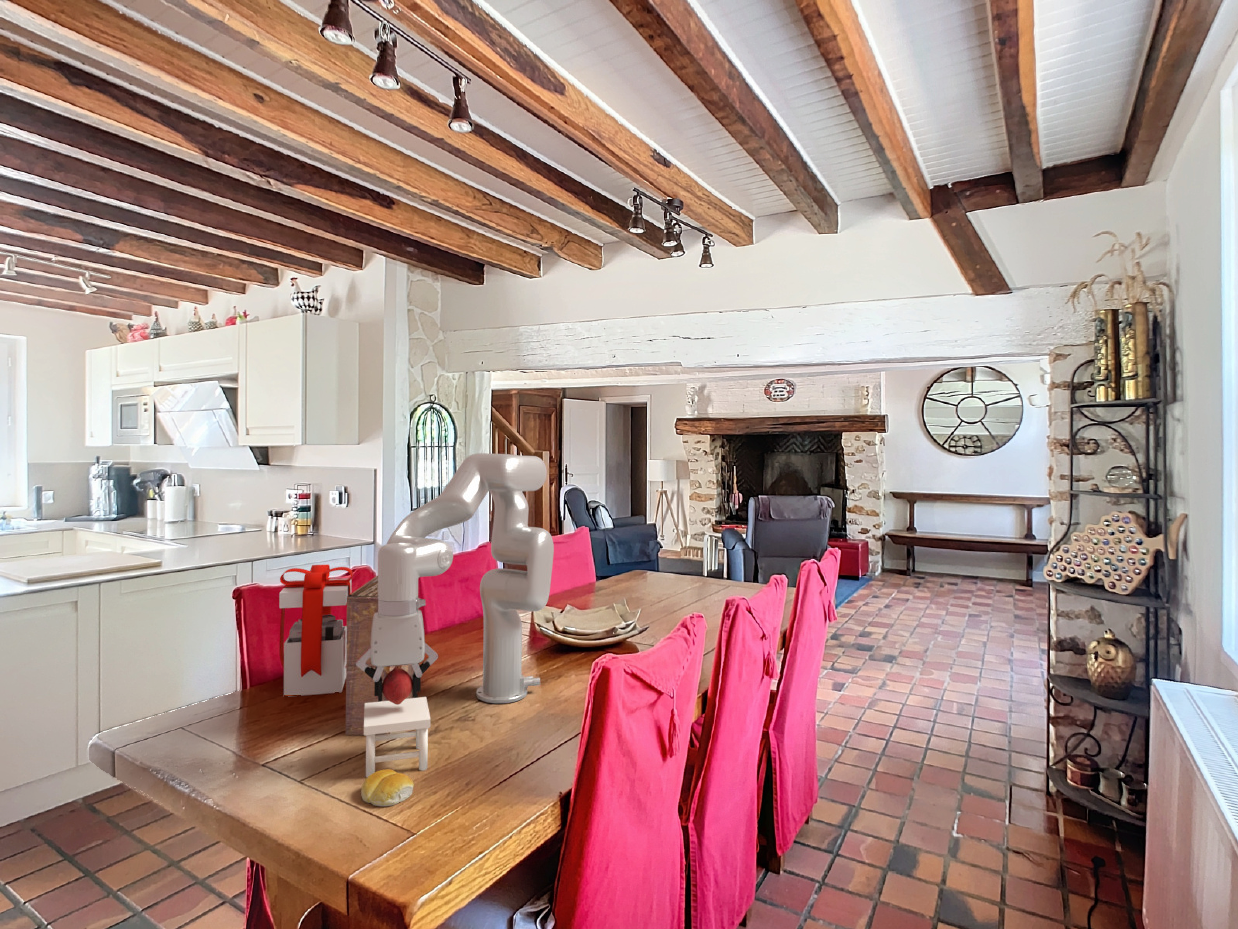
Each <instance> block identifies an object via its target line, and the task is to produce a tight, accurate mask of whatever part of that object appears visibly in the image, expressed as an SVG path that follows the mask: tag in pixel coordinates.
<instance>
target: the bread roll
mask: <svg viewBox="0 0 1238 929" xmlns="http://www.w3.org/2000/svg"><path fill="white" fill-rule="evenodd" d="M414 787H415V786H414V781H413V779H412V778H411V777H410V776H409V775H406V774H404V773H401V772H398V771H395V770H393V769H389V768H387V769H381V770H377V771H375V772H374V773H373V774H371V775H370V776H368V777H365V780H363V783H362V786H361V789H360V790H361V791H360V793H361V795H360V796H361V798H362V801H363V802H365V803H367V804H371V805H373V806H374V807H375V806H376V807H391V806H395V805H398V804H400V803H402V802H404V801H406V800H407V799H409V797H411V795H412V794H413V790H414ZM399 802H400V803H399Z"/></svg>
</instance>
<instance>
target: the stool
mask: <svg viewBox="0 0 1238 929" xmlns="http://www.w3.org/2000/svg"><path fill="white" fill-rule="evenodd" d="M429 728H431V714H430V710H429V704H428V699H427V696H422V697H421V696H420V697H417V698H414V697H413V698H410V699H405V700H404V701H402V703H401V704H399V705H396V704H394V703H392V702H390V701H381V702H372V703H365V709H364V735H363V736H365V778H367V777H368V776H370V775H371V774H373V773H374V772H376V764H377V763H383V762H389V761H390V762H392V761H397V760H398V761H399V760H405V759H412V758H418V770H419V771H427V770H428V752H429V751H428V750H429V749H428V748H429V747H428V743H429V740H428V739H429ZM389 732H391V733H390V734H385V735H375V734H380V733H389ZM395 732H396V733H395ZM412 737H415V749H416V751H409V752H400V753H393V754H385V755H378V756H376V742H381V741H388V740H397V739H405V738H412Z"/></svg>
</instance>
